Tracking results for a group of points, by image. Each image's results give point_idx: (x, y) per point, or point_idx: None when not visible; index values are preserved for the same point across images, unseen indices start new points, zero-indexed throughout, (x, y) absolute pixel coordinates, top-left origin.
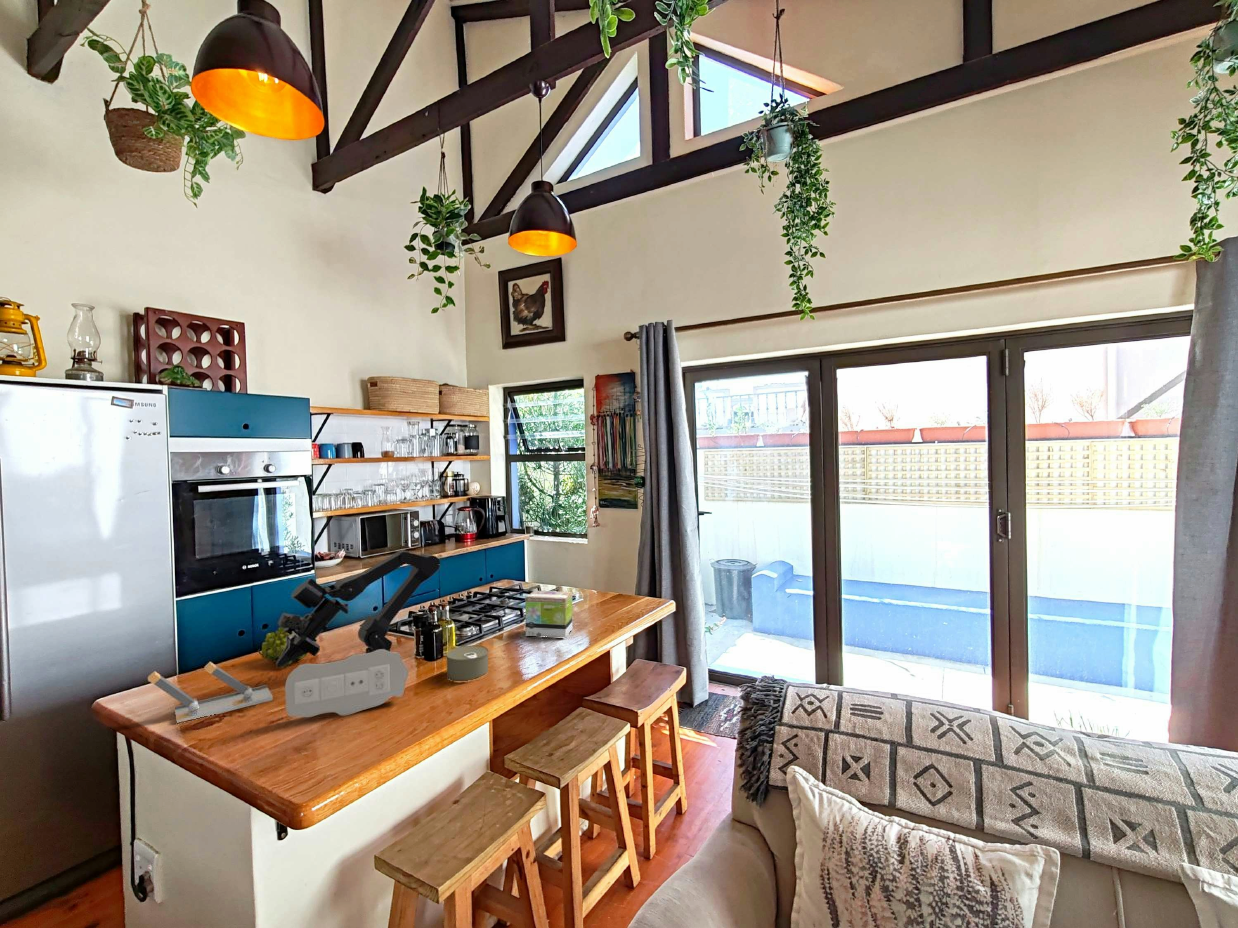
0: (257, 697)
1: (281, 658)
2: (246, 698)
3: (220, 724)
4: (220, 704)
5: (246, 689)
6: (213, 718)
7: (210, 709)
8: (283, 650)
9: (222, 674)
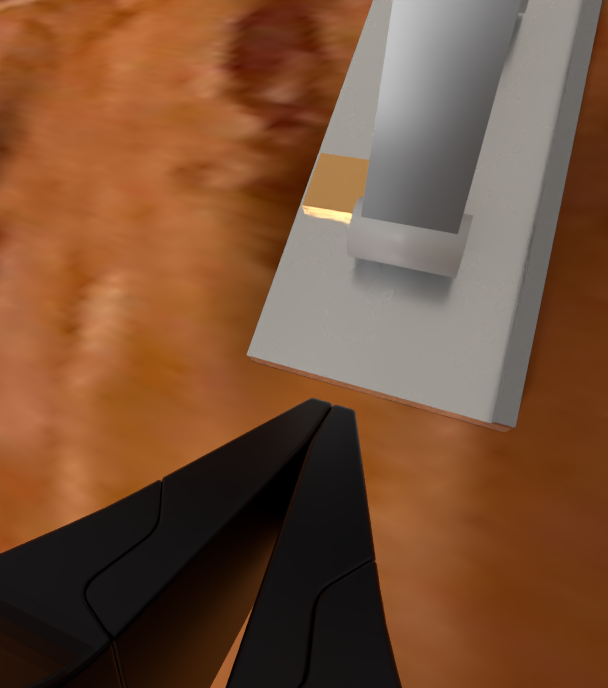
0: (322, 287)
1: (229, 442)
2: None
3: (195, 89)
4: None
5: (364, 198)
6: (301, 84)
7: None
8: (360, 592)
9: None
